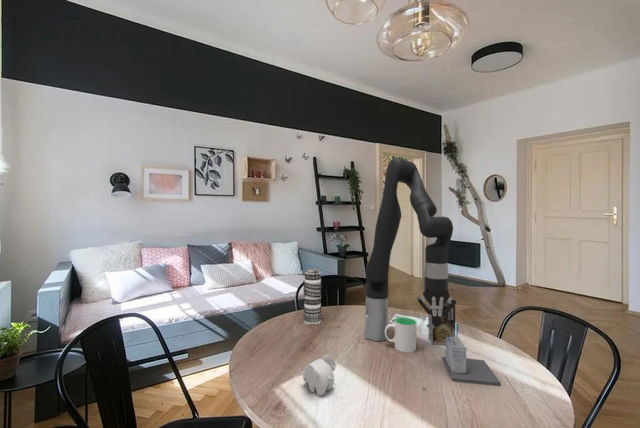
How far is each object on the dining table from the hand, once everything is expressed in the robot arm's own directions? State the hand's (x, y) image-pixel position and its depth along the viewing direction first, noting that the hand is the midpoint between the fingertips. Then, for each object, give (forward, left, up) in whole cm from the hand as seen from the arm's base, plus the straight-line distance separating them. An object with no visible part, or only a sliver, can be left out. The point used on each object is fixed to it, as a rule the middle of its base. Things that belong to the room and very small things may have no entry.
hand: (436, 326), depth 102 cm
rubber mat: (+10, 0, -14) cm, 18 cm away
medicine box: (+6, 0, -14) cm, 15 cm away
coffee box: (+6, +22, -15) cm, 27 cm away
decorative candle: (-50, +34, -15) cm, 62 cm away
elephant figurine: (-38, -18, -15) cm, 44 cm away
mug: (-11, +14, -15) cm, 23 cm away
